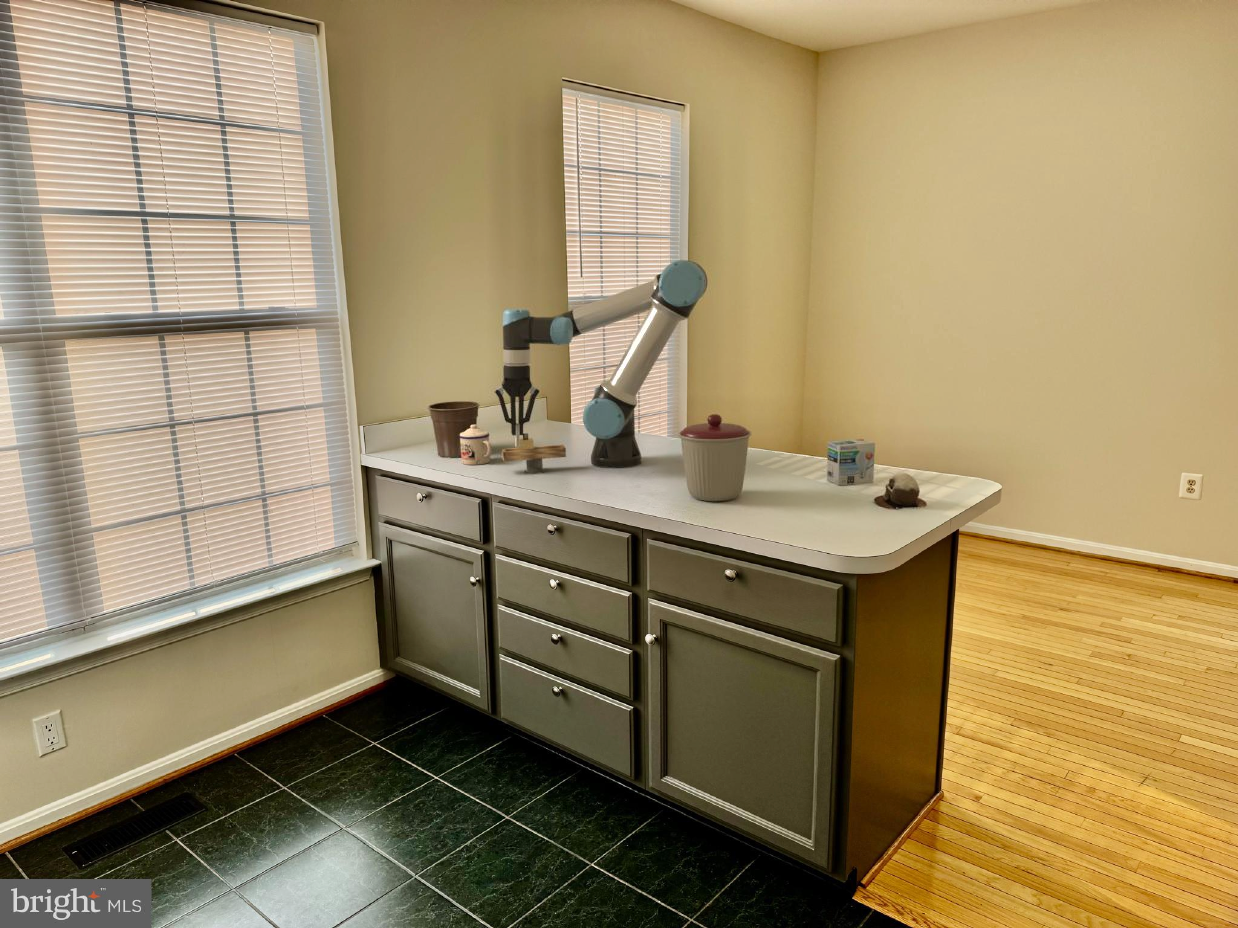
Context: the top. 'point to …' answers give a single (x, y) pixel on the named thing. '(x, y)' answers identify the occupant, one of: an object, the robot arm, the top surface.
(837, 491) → the top surface
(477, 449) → the teacup with lid
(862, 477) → the light bulb box
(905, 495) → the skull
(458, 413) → the plant pot
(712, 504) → the top surface
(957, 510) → the top surface
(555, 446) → the beam
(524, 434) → the rider
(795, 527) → the top surface
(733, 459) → the canister
